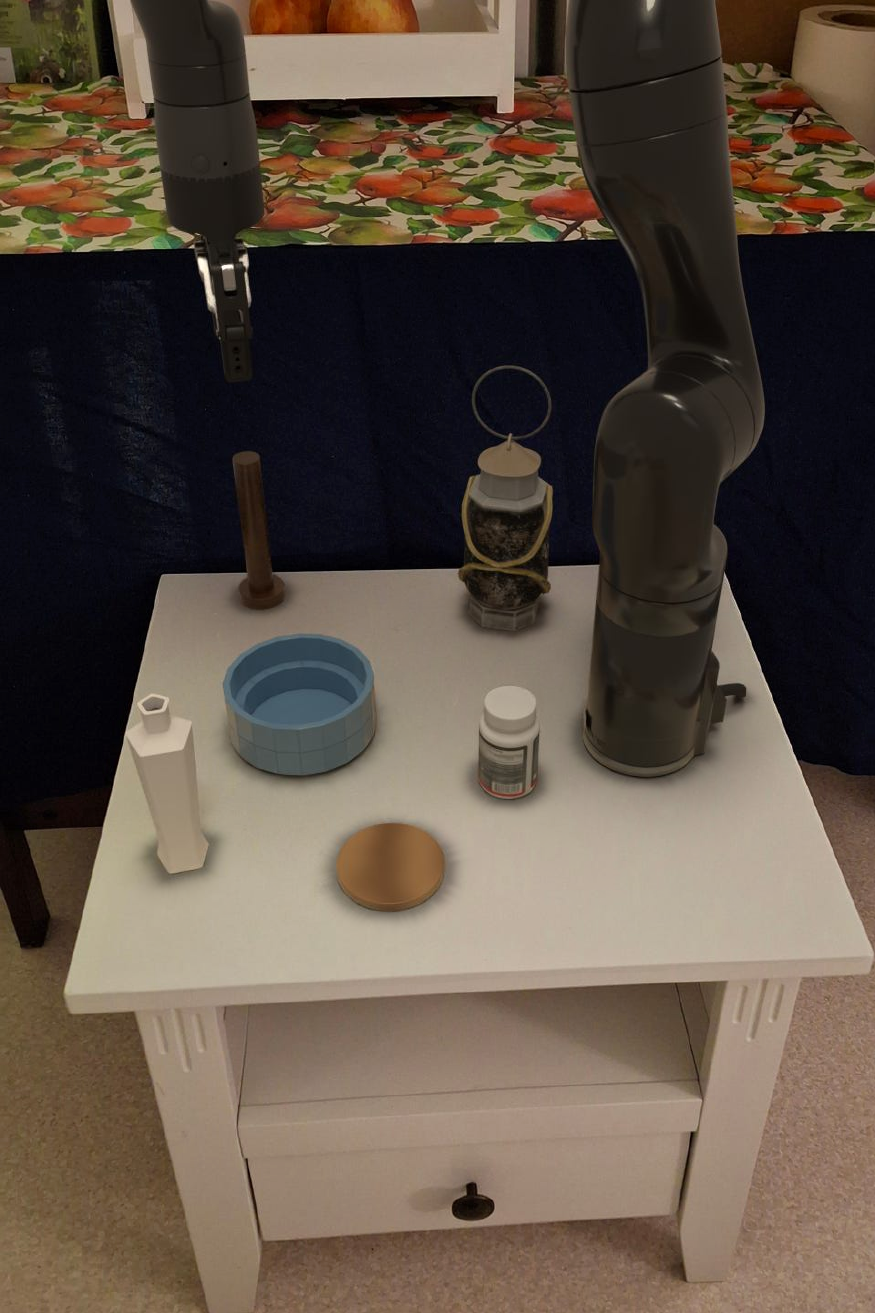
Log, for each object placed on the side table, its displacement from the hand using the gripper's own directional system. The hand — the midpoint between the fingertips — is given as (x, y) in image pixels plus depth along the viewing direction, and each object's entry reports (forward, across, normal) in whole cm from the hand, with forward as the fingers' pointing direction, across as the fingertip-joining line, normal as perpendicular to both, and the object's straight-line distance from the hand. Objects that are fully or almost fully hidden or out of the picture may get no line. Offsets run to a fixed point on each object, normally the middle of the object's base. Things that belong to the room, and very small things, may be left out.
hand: (233, 357), depth 102 cm
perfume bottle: (+25, -32, +10) cm, 42 cm away
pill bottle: (+25, -30, -16) cm, 42 cm away
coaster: (+25, -37, -5) cm, 45 cm away
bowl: (+25, -20, -1) cm, 32 cm away
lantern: (+25, -8, -22) cm, 34 cm away
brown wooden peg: (+25, 0, 0) cm, 25 cm away
